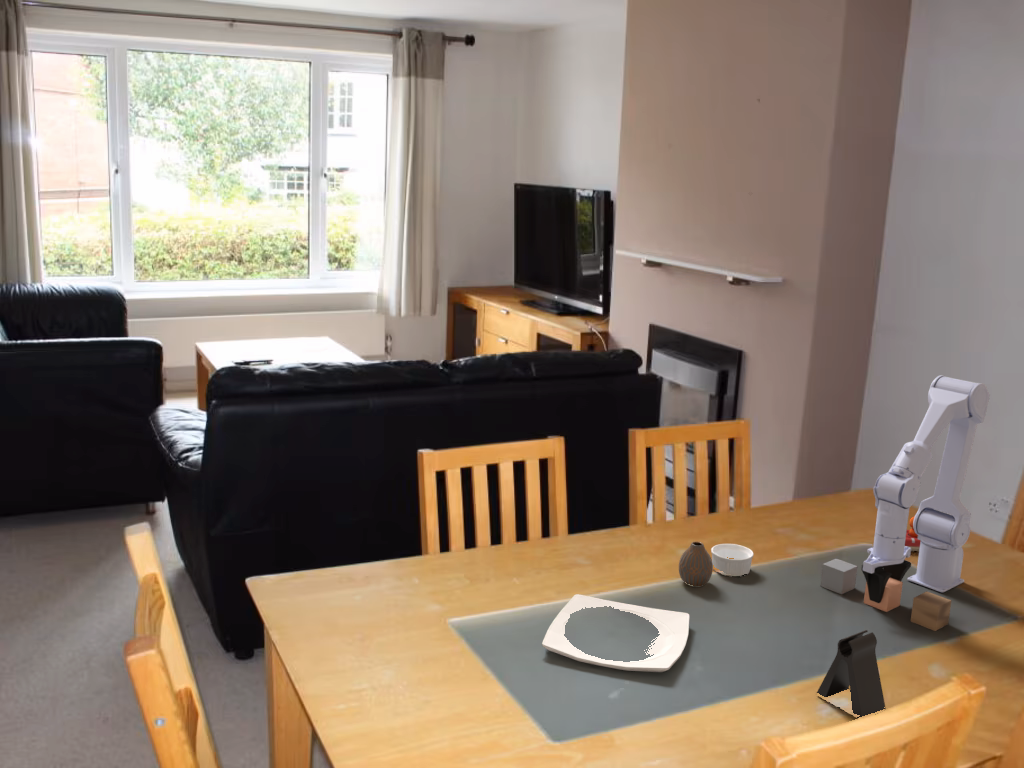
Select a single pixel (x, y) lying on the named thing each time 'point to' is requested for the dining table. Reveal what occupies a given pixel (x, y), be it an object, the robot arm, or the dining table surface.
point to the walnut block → (930, 611)
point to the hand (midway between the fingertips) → (882, 597)
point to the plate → (667, 622)
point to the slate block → (838, 576)
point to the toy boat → (912, 538)
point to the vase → (695, 565)
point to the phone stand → (856, 674)
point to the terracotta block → (887, 596)
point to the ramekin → (732, 566)
